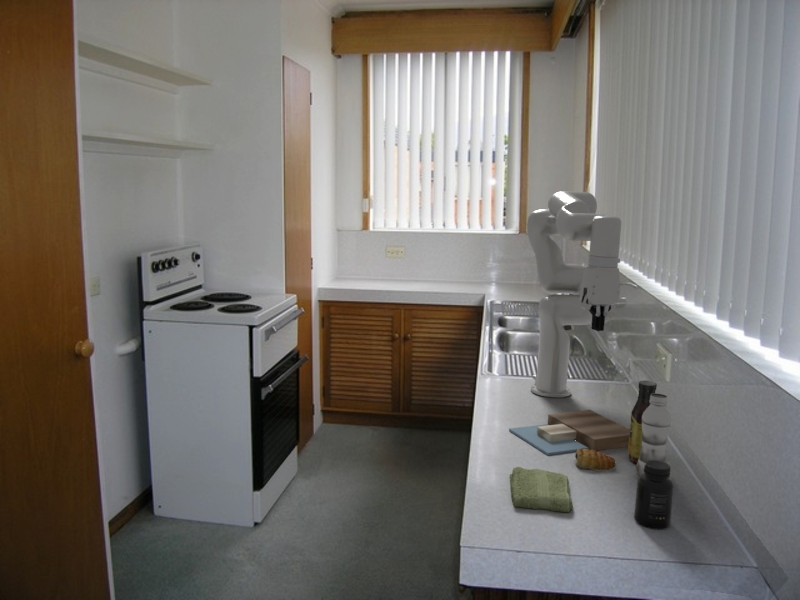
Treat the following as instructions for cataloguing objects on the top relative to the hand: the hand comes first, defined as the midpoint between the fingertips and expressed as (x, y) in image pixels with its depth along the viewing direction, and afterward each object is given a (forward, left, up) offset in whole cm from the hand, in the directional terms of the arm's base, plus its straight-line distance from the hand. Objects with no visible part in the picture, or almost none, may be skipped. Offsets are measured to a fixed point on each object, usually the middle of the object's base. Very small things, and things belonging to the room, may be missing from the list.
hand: (597, 329), depth 192 cm
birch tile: (+6, -15, -26) cm, 31 cm away
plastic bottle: (+35, -10, -27) cm, 46 cm away
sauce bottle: (+25, -4, -27) cm, 37 cm away
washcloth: (+33, -38, -28) cm, 57 cm away
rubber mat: (+6, -18, -27) cm, 33 cm away
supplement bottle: (+51, -24, -27) cm, 63 cm away
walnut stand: (+6, -4, -27) cm, 28 cm away
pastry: (+23, -17, -28) cm, 40 cm away
